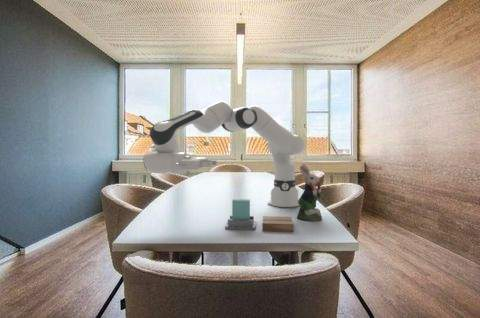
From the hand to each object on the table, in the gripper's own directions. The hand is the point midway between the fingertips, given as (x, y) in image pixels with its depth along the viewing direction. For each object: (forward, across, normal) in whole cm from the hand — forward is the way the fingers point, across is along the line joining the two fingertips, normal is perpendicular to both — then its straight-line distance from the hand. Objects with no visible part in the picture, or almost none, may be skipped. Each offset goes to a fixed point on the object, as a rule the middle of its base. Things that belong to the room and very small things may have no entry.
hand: (214, 163), depth 130 cm
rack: (+11, 0, +26) cm, 28 cm away
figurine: (+41, +17, +26) cm, 52 cm away
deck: (+26, 0, +26) cm, 37 cm away
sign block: (+11, 0, +25) cm, 27 cm away
